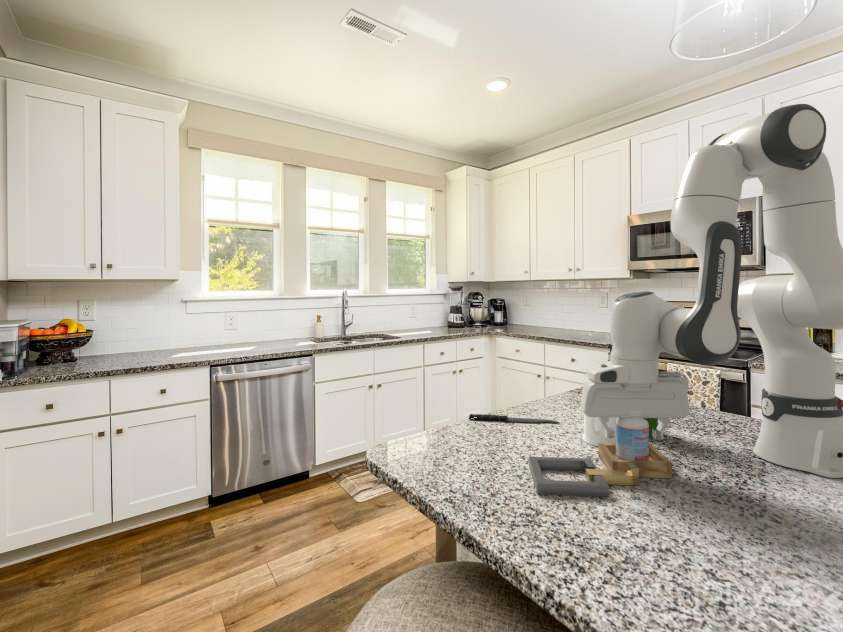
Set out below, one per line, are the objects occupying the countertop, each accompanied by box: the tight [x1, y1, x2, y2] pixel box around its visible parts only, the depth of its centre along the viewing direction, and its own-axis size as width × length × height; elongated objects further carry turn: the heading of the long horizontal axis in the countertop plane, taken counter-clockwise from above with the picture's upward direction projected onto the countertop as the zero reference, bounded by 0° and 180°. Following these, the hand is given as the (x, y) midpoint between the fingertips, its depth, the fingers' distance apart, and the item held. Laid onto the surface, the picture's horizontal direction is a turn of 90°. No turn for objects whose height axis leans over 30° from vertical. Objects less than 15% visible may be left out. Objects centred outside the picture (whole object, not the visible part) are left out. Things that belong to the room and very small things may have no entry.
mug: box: [582, 413, 618, 447], centre depth 101 cm, size 12×8×12 cm
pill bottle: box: [616, 410, 650, 460], centre depth 88 cm, size 6×6×11 cm
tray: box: [597, 443, 673, 479], centre depth 88 cm, size 11×10×3 cm
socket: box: [528, 456, 610, 498], centre depth 82 cm, size 12×12×2 cm
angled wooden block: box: [584, 463, 640, 487], centre depth 81 cm, size 9×3×3 cm, turn 83°
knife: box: [468, 413, 561, 424], centre depth 120 cm, size 25×2×5 cm
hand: (633, 437), depth 88 cm, fingers open, 8 cm apart
